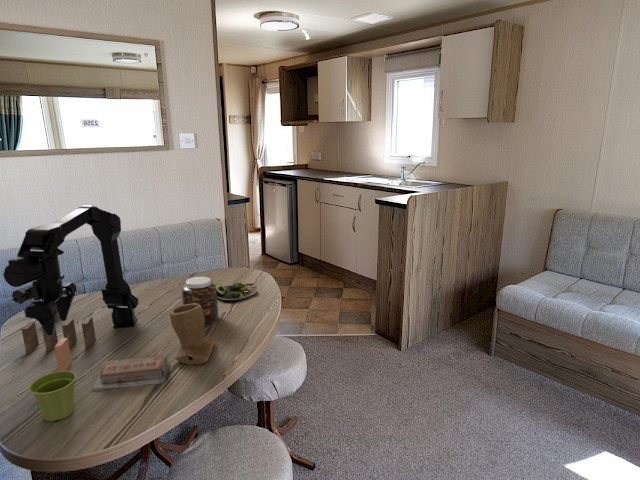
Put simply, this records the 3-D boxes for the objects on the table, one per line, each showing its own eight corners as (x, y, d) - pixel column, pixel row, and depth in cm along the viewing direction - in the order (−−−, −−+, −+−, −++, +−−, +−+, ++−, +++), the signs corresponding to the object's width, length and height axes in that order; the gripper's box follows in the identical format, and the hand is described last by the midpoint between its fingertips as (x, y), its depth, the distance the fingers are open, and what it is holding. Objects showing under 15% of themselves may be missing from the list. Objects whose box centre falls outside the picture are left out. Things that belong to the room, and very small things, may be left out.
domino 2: (58, 343, 133) (54, 319, 131) (52, 350, 129) (47, 326, 127) (52, 343, 133) (48, 320, 131) (46, 351, 128) (41, 327, 126)
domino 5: (95, 339, 135) (92, 316, 133) (90, 346, 131) (87, 323, 129) (90, 339, 135) (86, 317, 133) (85, 347, 130) (81, 323, 128)
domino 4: (71, 362, 122) (67, 337, 120) (65, 372, 117) (60, 346, 115) (65, 363, 121) (61, 338, 119) (59, 372, 117) (54, 346, 115)
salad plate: (243, 282, 187) (242, 272, 186) (267, 293, 175) (267, 282, 174) (204, 294, 174) (203, 283, 173) (227, 306, 162) (226, 295, 161)
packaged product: (169, 350, 120) (162, 368, 110) (170, 365, 121) (164, 385, 111) (101, 356, 117) (89, 375, 107) (103, 371, 118) (91, 392, 108)
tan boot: (180, 342, 133) (175, 298, 129) (217, 341, 134) (214, 297, 130) (165, 368, 118) (160, 319, 115) (207, 367, 119) (203, 318, 115)
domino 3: (77, 341, 134) (73, 318, 132) (71, 348, 130) (67, 325, 128) (71, 341, 134) (67, 318, 132) (65, 349, 129) (61, 325, 127)
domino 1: (39, 344, 132) (34, 321, 130) (32, 352, 127) (27, 328, 125) (33, 345, 132) (29, 322, 130) (26, 353, 127) (21, 329, 125)
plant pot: (25, 421, 97) (19, 388, 95) (63, 398, 105) (57, 367, 103) (54, 431, 94) (48, 397, 91) (90, 406, 102) (85, 374, 100)
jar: (217, 311, 156) (214, 273, 152) (219, 324, 145) (216, 284, 142) (184, 315, 153) (180, 276, 149) (184, 329, 142) (180, 288, 138)
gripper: (31, 265, 120) (40, 316, 124) (-5, 288, 102) (7, 346, 106) (73, 263, 122) (81, 313, 126) (45, 285, 104) (55, 342, 108)
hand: (57, 327), depth 116 cm, fingers open, 9 cm apart
